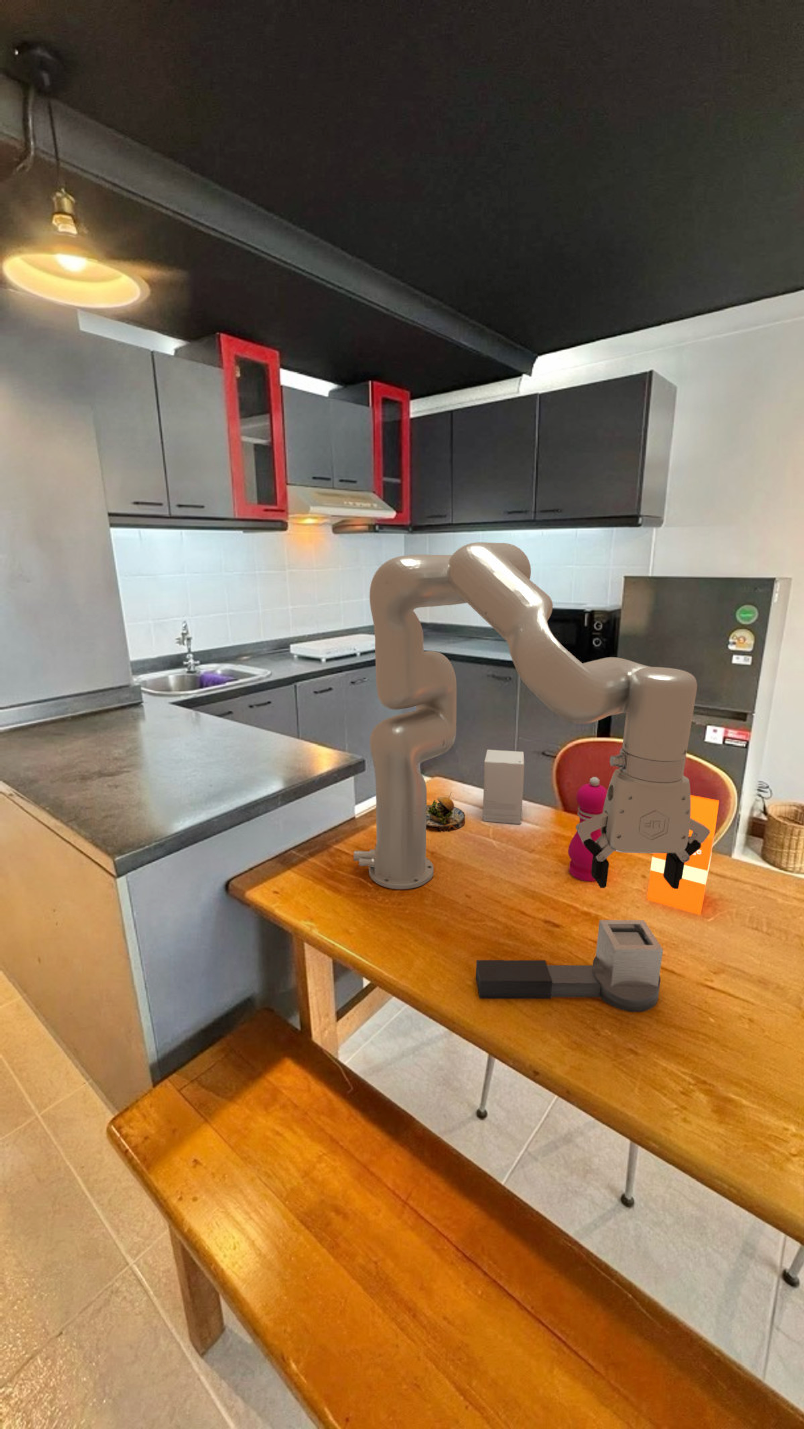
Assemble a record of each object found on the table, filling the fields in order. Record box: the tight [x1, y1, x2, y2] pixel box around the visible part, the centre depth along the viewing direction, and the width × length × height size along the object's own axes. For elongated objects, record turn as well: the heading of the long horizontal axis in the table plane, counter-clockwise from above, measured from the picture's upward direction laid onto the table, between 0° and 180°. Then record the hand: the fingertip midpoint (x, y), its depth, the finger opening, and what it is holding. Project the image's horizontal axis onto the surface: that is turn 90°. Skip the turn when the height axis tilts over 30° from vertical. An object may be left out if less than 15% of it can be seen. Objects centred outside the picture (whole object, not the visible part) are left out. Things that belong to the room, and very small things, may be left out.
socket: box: [595, 919, 664, 987], centre depth 81 cm, size 6×6×6 cm
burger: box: [426, 793, 466, 833], centre depth 134 cm, size 12×12×8 cm
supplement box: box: [482, 749, 525, 825], centre depth 136 cm, size 9×9×15 cm
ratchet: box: [475, 932, 661, 1013], centre depth 82 cm, size 26×9×8 cm, turn 90°
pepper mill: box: [567, 776, 608, 882], centre depth 110 cm, size 7×7×20 cm
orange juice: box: [646, 794, 720, 916], centre depth 102 cm, size 8×9×20 cm
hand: (634, 882), depth 78 cm, fingers open, 9 cm apart
